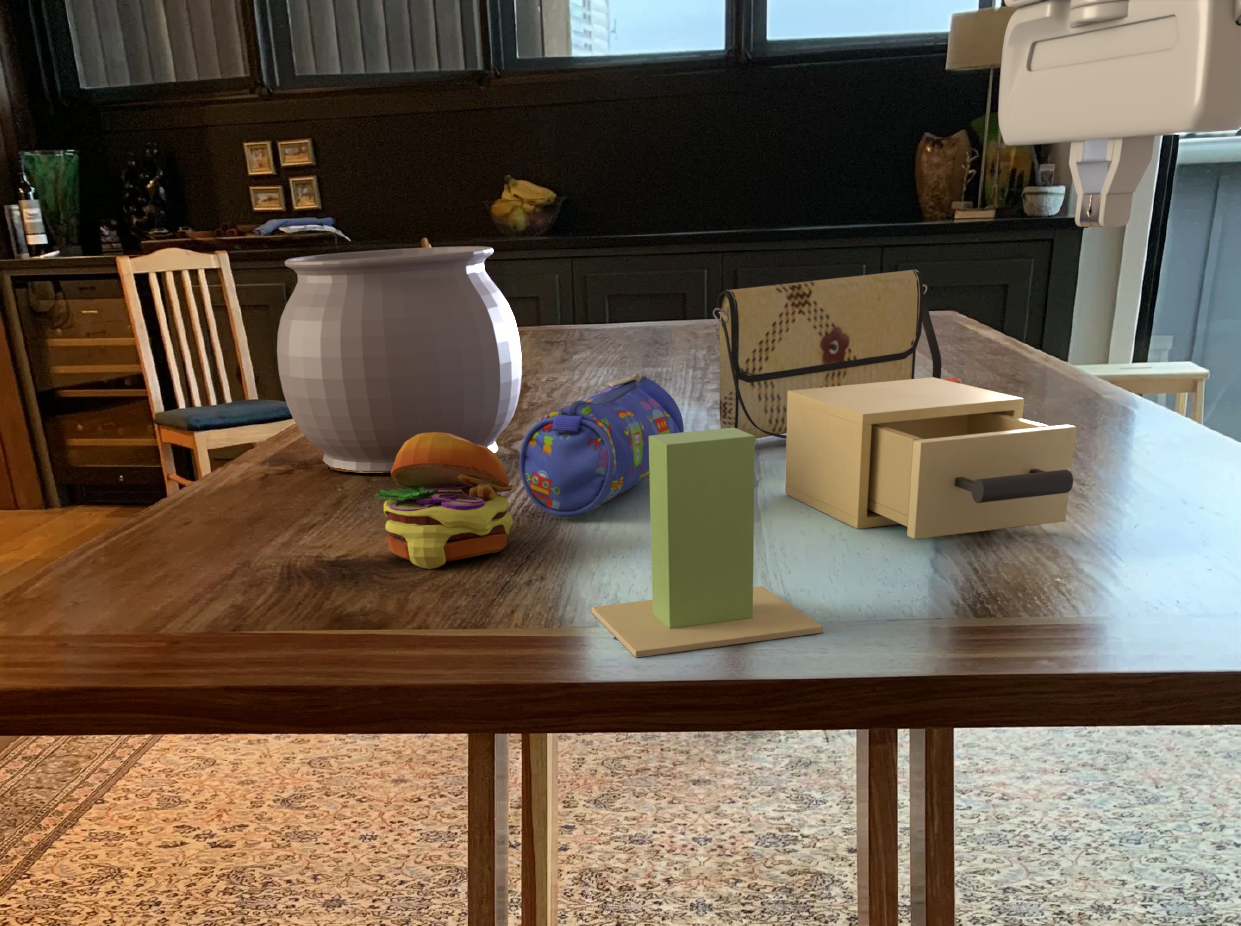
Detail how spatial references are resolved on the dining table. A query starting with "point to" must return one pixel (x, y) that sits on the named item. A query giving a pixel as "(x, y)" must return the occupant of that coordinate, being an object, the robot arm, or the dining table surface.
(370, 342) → the grey round vase
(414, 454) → the cheeseburger
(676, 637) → the tan flat wooden board
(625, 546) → the dining table surface
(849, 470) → the cabinet
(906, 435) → the drawer
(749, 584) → the sage green upright pillar
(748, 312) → the woven shoulder bag
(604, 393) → the pencil case
